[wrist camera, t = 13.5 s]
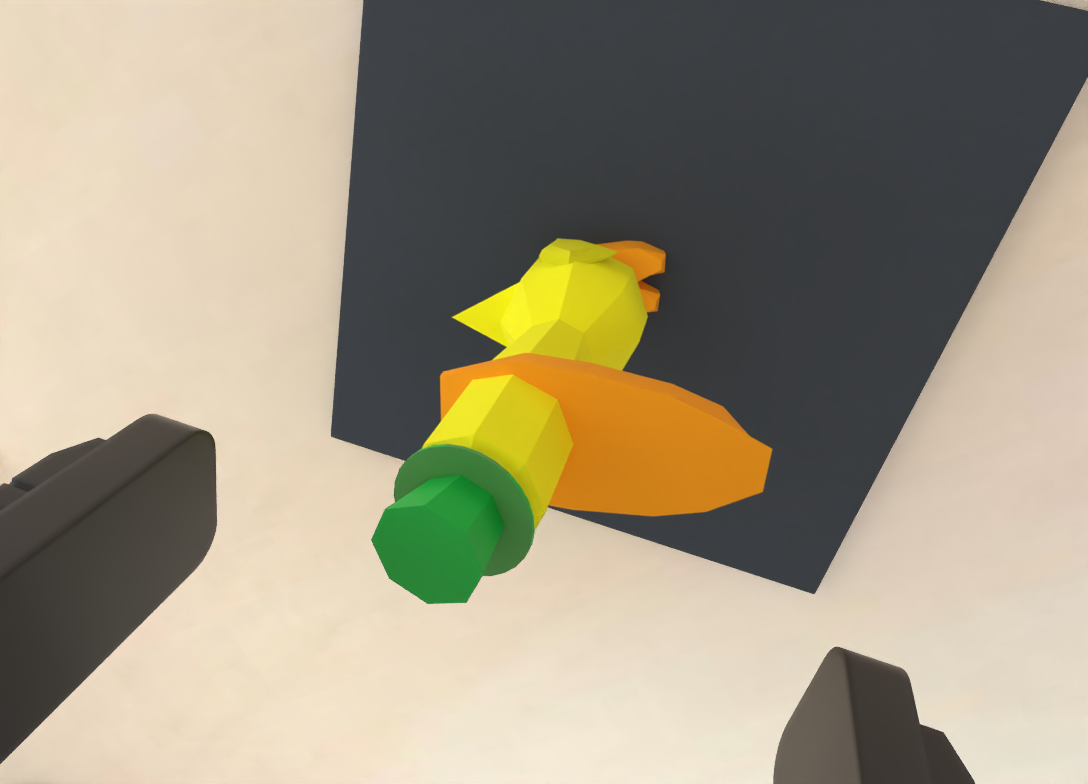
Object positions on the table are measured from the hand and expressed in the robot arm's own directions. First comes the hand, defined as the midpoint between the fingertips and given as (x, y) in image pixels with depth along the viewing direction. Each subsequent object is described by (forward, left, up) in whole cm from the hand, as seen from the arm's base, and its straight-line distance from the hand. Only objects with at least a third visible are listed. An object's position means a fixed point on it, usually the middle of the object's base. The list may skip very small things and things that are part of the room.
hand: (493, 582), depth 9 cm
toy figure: (0, 0, -12) cm, 12 cm away
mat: (0, 0, -12) cm, 12 cm away
